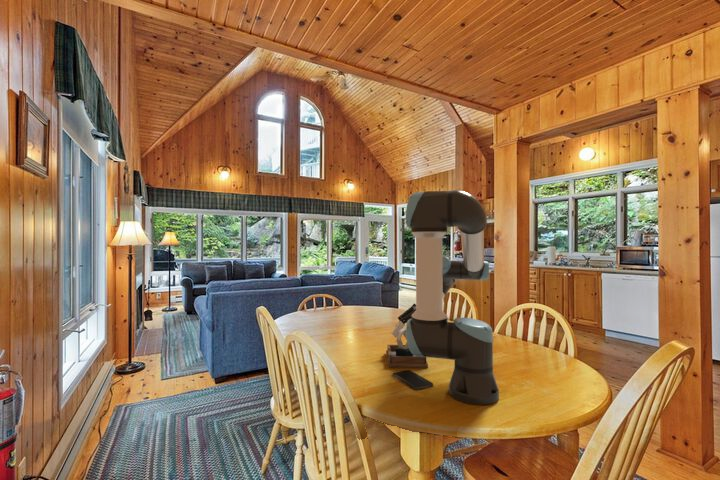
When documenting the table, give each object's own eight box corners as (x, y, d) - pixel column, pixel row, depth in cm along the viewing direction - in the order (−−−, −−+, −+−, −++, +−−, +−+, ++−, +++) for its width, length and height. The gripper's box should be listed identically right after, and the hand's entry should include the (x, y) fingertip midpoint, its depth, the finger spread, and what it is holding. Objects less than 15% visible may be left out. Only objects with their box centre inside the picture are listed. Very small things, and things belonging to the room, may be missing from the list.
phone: (415, 388, 117) (391, 373, 130) (415, 392, 117) (391, 376, 130) (434, 384, 120) (409, 369, 134) (434, 387, 120) (409, 372, 134)
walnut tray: (427, 368, 137) (427, 357, 137) (388, 367, 137) (388, 357, 137) (421, 353, 154) (421, 344, 154) (386, 353, 154) (386, 344, 154)
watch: (416, 355, 147) (416, 328, 147) (403, 360, 141) (403, 332, 141) (405, 352, 151) (405, 326, 150) (392, 356, 145) (392, 329, 145)
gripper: (457, 309, 143) (428, 353, 135) (418, 300, 164) (391, 337, 157) (447, 297, 140) (417, 341, 133) (408, 289, 162) (380, 326, 155)
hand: (403, 339), depth 145 cm, fingers open, 13 cm apart
